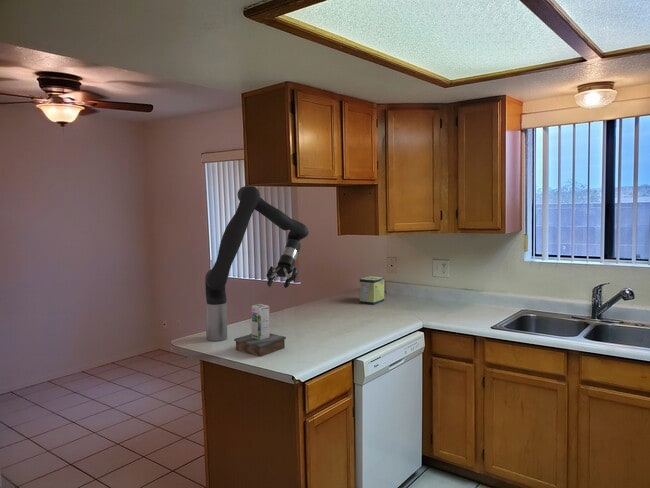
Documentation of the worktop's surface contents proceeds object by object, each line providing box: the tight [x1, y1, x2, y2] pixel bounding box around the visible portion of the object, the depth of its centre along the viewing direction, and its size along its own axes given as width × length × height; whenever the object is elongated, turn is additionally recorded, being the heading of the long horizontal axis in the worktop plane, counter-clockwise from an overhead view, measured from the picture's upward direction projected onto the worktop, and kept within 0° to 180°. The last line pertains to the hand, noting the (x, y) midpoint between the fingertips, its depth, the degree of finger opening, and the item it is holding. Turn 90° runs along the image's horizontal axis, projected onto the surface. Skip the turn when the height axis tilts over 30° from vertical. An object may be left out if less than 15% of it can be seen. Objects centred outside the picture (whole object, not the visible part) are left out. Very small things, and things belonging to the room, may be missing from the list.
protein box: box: [359, 275, 385, 306], centre depth 311 cm, size 10×16×16 cm
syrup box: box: [251, 303, 270, 340], centre depth 212 cm, size 6×6×14 cm
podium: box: [233, 332, 287, 357], centre depth 213 cm, size 16×16×5 cm
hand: (277, 286), depth 223 cm, fingers open, 8 cm apart
